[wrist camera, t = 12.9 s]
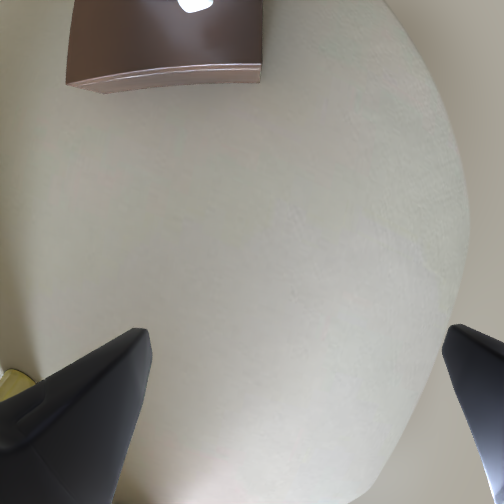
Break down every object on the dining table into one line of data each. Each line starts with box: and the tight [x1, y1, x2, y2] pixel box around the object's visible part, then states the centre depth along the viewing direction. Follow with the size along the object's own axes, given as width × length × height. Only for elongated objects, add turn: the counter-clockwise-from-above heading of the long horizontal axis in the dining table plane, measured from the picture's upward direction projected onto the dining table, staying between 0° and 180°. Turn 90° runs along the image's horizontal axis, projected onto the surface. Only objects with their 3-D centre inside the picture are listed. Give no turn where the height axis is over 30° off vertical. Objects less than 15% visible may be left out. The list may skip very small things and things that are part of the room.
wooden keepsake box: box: [66, 0, 263, 94], centre depth 13 cm, size 10×10×5 cm
